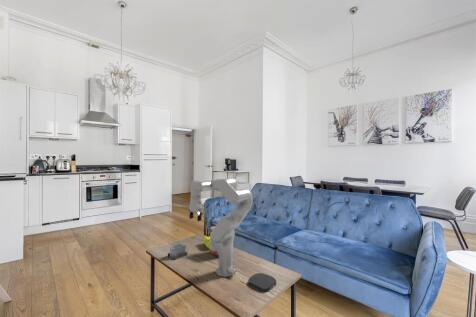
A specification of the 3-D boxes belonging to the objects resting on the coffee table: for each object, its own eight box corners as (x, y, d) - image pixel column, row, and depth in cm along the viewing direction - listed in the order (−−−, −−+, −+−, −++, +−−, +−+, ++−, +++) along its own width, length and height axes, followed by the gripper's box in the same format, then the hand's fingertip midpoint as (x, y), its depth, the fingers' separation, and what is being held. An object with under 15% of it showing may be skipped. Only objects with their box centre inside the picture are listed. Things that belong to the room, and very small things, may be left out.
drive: (185, 253, 173) (185, 244, 174) (173, 258, 165) (173, 248, 165) (181, 251, 177) (182, 242, 177) (169, 256, 168) (170, 246, 168)
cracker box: (209, 253, 177) (209, 227, 177) (214, 250, 182) (214, 225, 182) (222, 258, 168) (222, 230, 168) (227, 255, 173) (227, 229, 173)
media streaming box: (259, 275, 145) (259, 270, 145) (278, 283, 135) (278, 278, 135) (245, 284, 133) (245, 279, 133) (265, 294, 124) (265, 289, 124)
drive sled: (187, 255, 172) (187, 252, 172) (174, 260, 163) (174, 256, 164) (181, 251, 178) (181, 248, 178) (167, 256, 169) (167, 253, 169)
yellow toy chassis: (203, 244, 196) (203, 234, 196) (209, 243, 199) (209, 233, 199) (209, 250, 182) (209, 240, 182) (215, 249, 184) (215, 239, 184)
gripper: (207, 197, 162) (206, 220, 162) (192, 195, 174) (192, 216, 174) (199, 199, 157) (198, 222, 156) (184, 196, 168) (184, 218, 168)
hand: (195, 219), depth 165 cm, fingers open, 9 cm apart
